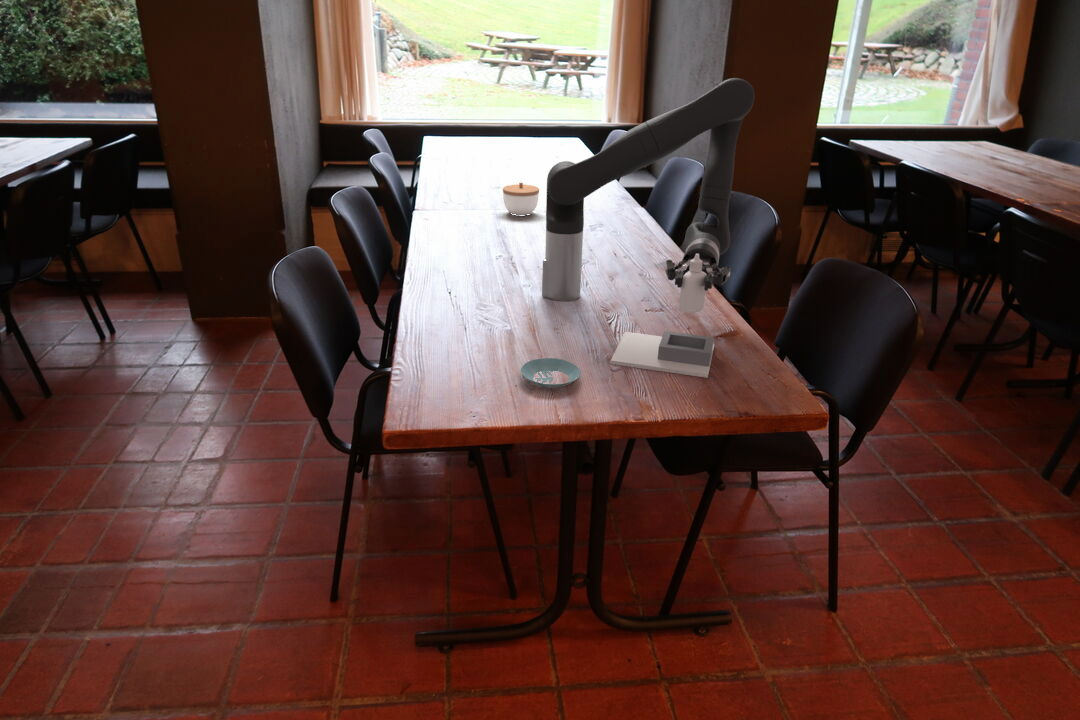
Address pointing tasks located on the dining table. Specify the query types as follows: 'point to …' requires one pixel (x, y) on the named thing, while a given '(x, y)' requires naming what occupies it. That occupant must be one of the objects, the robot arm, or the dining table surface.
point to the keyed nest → (666, 353)
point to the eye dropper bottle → (693, 288)
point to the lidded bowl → (520, 198)
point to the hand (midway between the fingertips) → (693, 284)
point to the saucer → (549, 365)
